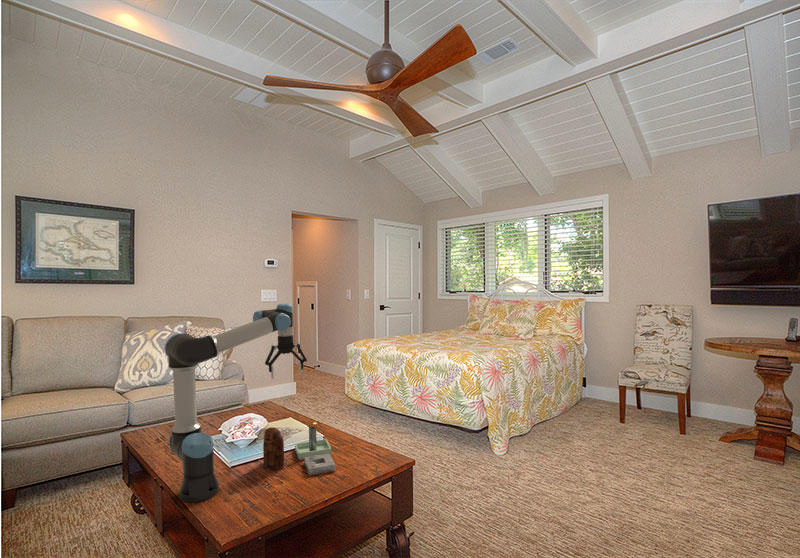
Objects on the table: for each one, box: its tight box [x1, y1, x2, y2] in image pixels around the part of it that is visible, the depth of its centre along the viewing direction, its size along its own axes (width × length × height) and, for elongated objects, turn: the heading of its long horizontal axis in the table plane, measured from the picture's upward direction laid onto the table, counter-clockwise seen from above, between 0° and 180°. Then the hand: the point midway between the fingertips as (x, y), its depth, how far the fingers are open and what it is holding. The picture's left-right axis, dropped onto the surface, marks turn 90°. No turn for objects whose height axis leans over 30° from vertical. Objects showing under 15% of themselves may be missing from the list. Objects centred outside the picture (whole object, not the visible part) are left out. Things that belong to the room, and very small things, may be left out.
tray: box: [294, 438, 333, 461], centre depth 233 cm, size 16×12×3 cm
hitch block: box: [303, 453, 336, 476], centre depth 217 cm, size 12×12×3 cm
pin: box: [306, 420, 319, 451], centre depth 232 cm, size 5×5×14 cm
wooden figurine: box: [262, 426, 285, 471], centre depth 217 cm, size 12×6×18 cm, turn 65°
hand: (286, 376), depth 234 cm, fingers open, 13 cm apart
